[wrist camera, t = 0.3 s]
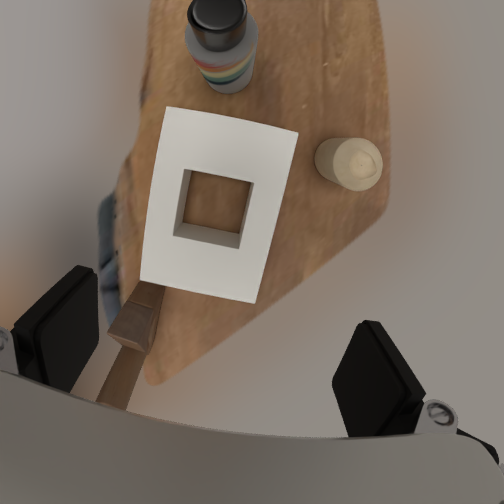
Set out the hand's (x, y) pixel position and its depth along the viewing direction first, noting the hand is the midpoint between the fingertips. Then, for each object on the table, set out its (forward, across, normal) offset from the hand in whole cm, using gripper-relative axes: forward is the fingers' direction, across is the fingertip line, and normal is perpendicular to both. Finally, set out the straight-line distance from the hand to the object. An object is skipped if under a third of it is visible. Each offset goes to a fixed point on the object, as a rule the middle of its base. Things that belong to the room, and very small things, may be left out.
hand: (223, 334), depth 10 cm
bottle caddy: (+30, +2, +1) cm, 30 cm away
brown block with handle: (+30, +9, +19) cm, 37 cm away
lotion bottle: (+30, +4, -15) cm, 34 cm away
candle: (+30, -11, -7) cm, 33 cm away
